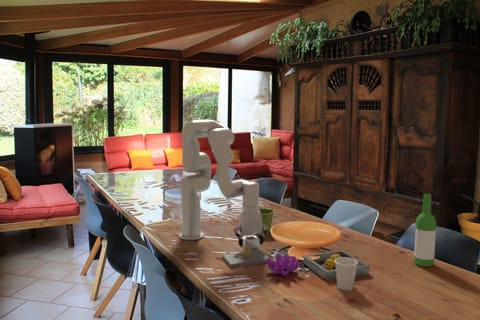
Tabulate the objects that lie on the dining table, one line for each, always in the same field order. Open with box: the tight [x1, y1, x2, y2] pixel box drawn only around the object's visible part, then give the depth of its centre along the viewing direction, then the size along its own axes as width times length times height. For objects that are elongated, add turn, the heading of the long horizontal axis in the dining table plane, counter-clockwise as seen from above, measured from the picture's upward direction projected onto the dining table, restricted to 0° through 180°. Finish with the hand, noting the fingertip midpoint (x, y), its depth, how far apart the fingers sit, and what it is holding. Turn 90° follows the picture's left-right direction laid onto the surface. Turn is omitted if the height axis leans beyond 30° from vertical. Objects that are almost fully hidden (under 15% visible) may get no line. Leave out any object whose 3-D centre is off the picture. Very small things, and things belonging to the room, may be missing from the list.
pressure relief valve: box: [324, 254, 341, 270], centre depth 174 cm, size 6×12×10 cm
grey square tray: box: [302, 250, 371, 282], centre depth 176 cm, size 19×19×4 cm
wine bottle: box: [413, 193, 437, 268], centre depth 179 cm, size 8×8×30 cm
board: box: [221, 245, 270, 268], centre depth 185 cm, size 12×18×6 cm, turn 109°
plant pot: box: [259, 207, 276, 234], centre depth 227 cm, size 12×12×11 cm
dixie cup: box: [334, 257, 358, 291], centre depth 157 cm, size 8×8×10 cm
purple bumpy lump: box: [265, 254, 302, 277], centre depth 171 cm, size 11×15×10 cm
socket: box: [242, 234, 261, 251], centre depth 197 cm, size 6×6×6 cm
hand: (251, 245), depth 197 cm, fingers open, 9 cm apart
